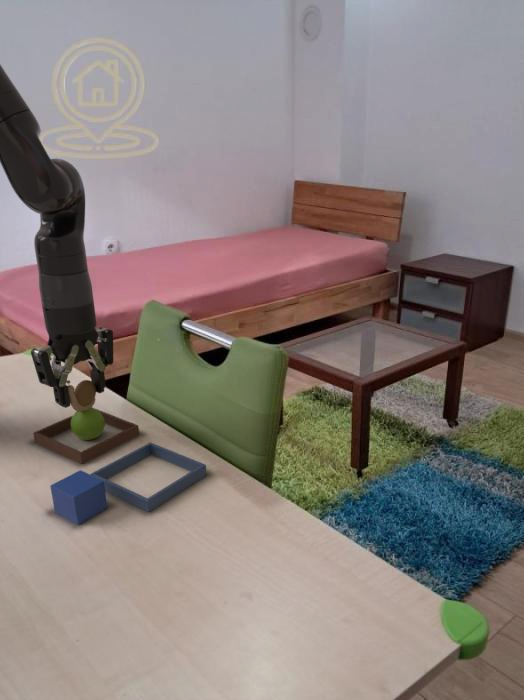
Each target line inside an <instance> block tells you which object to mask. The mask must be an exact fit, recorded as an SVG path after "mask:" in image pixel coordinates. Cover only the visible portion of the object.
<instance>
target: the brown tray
mask: <svg viewBox="0 0 524 700" xmlns="http://www.w3.org/2000/svg"><path fill="white" fill-rule="evenodd" d="M91 408H94V409H96V410H98V411H99V412H100V413H101V414H102V416H103V417H104V421H105V425H108V426H111V427H114V428H115V429H119V430H120V432H117V433H116V434H114V435H112V436H110V437H108V438H106V439H104V440H102V441H99V442H97V443H96V444H94V445H92V446H90V447H88V448H85V449H83V450H82V451H80V450H78V449H75V448H73V447H71V446H69V445H66V444H64V443H63V442H60V441H57V440H56V439H53V438H52V437H55V436H57V435H59V434H61V433H63V432H66V431H67V430H69V429H70V430H71V419H72V416H73V415H71V416H68V417H66V418H63V419H61V420H59V421H57V422H54V423H52V424H50V425H47V426H45V427H42V428H41V429H38V430H36V431H34V432H32V434H33V439H34V443H35V444H38V445H39V446H42V447H43V448H45V449H48V450H50V451H53V452H55V453H57V454H58V455H61V456H63V457H65V458H67V459H70V460H72V461H74V462H76V463H78V464H81V465H83V464H85V463H87V462H90V461H91V460H93V459H95V458H97V457H99V456H101V455H103V454H105V453H107V452H109V451H111V450H113V449H115V448H117V447H118V446H121V445H123V444H125V443H126V442H129V441H131V440H133V439H134V438H136V437H138V436H140V430H139V429H140V428H139V424H137V423H133V422H131V421H129V420H126V419H123V418H121V417H119V416H115V415H113V414H110V413H108V412H105V411H102V410H100V409H98V408H95V407H93V406H92V407H91Z"/></svg>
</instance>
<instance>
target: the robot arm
mask: <svg viewBox="0 0 524 700" xmlns="http://www.w3.org/2000/svg"><path fill="white" fill-rule="evenodd" d="M16 87H17V86H15V84H14V83H13V81H12V79H11V78H10V76H9V75H8V74H7V72H6V71H5V69H4V67H3V66H2V64H1V63H0V165H1V167H2V170H3V172H4V174H5V175H6V178H7V180H8V182H9V184H10V186H11V188H12V190H13V191H14V193H15V194H16V196H17V197H18V199H19V200H20V201H21V202H22V203H23V204H24V205H25V206H26V207H27V208H28V209H29V210H32V211H33V212H34V213H36V214H39V218H40V219H39V220H40V224H39V225H40V227H39V229H38V231H37V232H36V234H35V236H34V239H33V241H34V242H33V243H34V244H33V245H34V252H35V259H36V263H37V264H36V266H37V271H38V289H39V295H40V301H41V308H42V314H43V320H44V326H45V330H46V332H47V335H48V340H47V345H45V346H43V347H41V348H35V347H34V348H32V349H31V351H30V355H31V358H32V361H33V365H34V369H35V372H36V376H37V378H38V382H39V383H40V384H42V385H45V386H47V387H50V388H52V390H53V397H54V401H55V403H56V404H57V405H59V406H60V407H63V408H65V409H67V408H69V407H71V404H70V399H69V392H68V384H67V381H68V378H69V374H71V373H72V371H73V367H74V365H77V364H78V363H80V362H86V364H87V365H88V367H89V368H90V370H89V374H90V381H91V382H93V383H94V385H95V388H96V394H102V393H104V392H105V389H106V386H107V385H106V376H105V371H106V368H107V367H108V366H112V365H113V363H114V332H113V330H112V329H109V328H106V327H102V326H100V327H98V328H97V316H96V308H95V300H94V291H93V285H92V280H91V277H90V273H89V267H88V259H87V251H86V244H85V240H84V239H85V238H84V237H85V236H84V235H85V234H84V233H85V225H86V224H85V223H86V192H85V186H84V182H83V179H82V176H81V174H80V172H79V171H78V168H76V167H75V166H74V165H73V164H72V163H70V162H69V161H67V160H65V159H62V158H50V156H49V154H48V152H47V151H46V149H45V147H44V145H43V143H42V141H41V140H40V136H41V132H42V129H41V126H40V123H39V120H37V118H36V116H35V114H34V113H33V111H32V110H31V109H30V107H29V105H28V104H27V102H26V101H25V99H24V98H23V96H22V95H21V93H20V92H19V90H18V89H17V88H16ZM96 328H97V329H96ZM96 343H97V349H96V348H95V346H96ZM52 354H53V357H51V356H52ZM62 363H63V365H62Z"/></svg>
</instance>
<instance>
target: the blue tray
mask: <svg viewBox="0 0 524 700" xmlns="http://www.w3.org/2000/svg"><path fill="white" fill-rule="evenodd" d="M150 456H153V457H156V458H159V459H161V460H163V461H166V462H168V463H170V464H173V465H175V466H177V467H180V468H182V469H185V470H187V471H190V472H187V473H186V474H185V475H183V476H181V477H179V478H178V479H177V480H175V481H173V482H172V483H170V484H168V485H167V486H165V487H164V488H161V489H160V490H159V491H157V492H155V493H154V494H152V495H150V496H149V497H145V496H143V495H141V494H140V493H137V492H134V491H133V490H132V489H131V490H130V489H128V488H126V487H124V486H122V485H120V484H118V483H116V482H113V481H111V480H109V478H111V477H113V476H115V475H117V474H119V473H120V472H122V471H124V470H125V469H127V468H129V467H131V466H133V465H134V464H135V465H136V463H138V462H141V461H142V460H143V459H145V458H148V457H150ZM90 475H92V476H94V477H96V478H98V479H101V480H103V481H104V486H105V493H108V494H109V495H111V496H114V497H115V498H118V499H120V500H122V501H124V502H126V503H128V504H130V505H133V506H135V507H137V508H139V509H140V510H143V511H145V512H147V513H150V512H152V511H153V510H154V509H156V508H158V507H159V506H161V505H163V504H164V503H165V502H167V501H168V500H170V499H172V498H174V497H175V496H176V495H178V494H179V493H181V492H183V491H184V490H185V489H187V488H189V487H191V486H192V485H194V484H195V483H197V482H199V481H200V480H202V479H203V478H205V477H206V476H207V464H205V463H202V462H200V461H198V460H195V459H193V458H190V457H188V456H186V455H183V454H180V453H178V452H175V451H173V450H170V449H168V448H166V447H163V446H161V445H158V444H156V443H153V442H148V443H147V444H144V445H142V446H140V447H138V448H137V449H134V450H133V451H131V452H129V453H127V454H125V455H124V456H121V457H120V458H118V459H116V460H114V461H112V462H110V463H108V464H106V465H104V466H103V467H101V468H99V469H97V470H94V471H93V472H92V473H90Z"/></svg>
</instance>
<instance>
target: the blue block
mask: <svg viewBox="0 0 524 700" xmlns="http://www.w3.org/2000/svg"><path fill="white" fill-rule="evenodd" d="M90 474H91V473H90ZM90 474H89V473H88V472H86V471H83V470H82V469H79V470H78V471H75V472H74V473H72V474H70V475H68V476H66V477H64V478H61V479H60V480H58V481H56V482H54V483H52V484H50V491H51V497H52V503H53V510H54V513H55V514H57V515H59V516H61V517H63V518H64V519H67V520H68V521H70V522H72V523H73V524H76V525H77V526H79V525H80V524H82V523H84V522H85V521H87V520H89V519H91V518H93V517H94V516H96V515H97V514H99V513H101V512H103V511H104V510H106V509H108V502H107V494H106V493H107V492H105V486H104V481H103V480H101V479H98V478H96V477H94V476H92V475H90Z"/></svg>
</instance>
